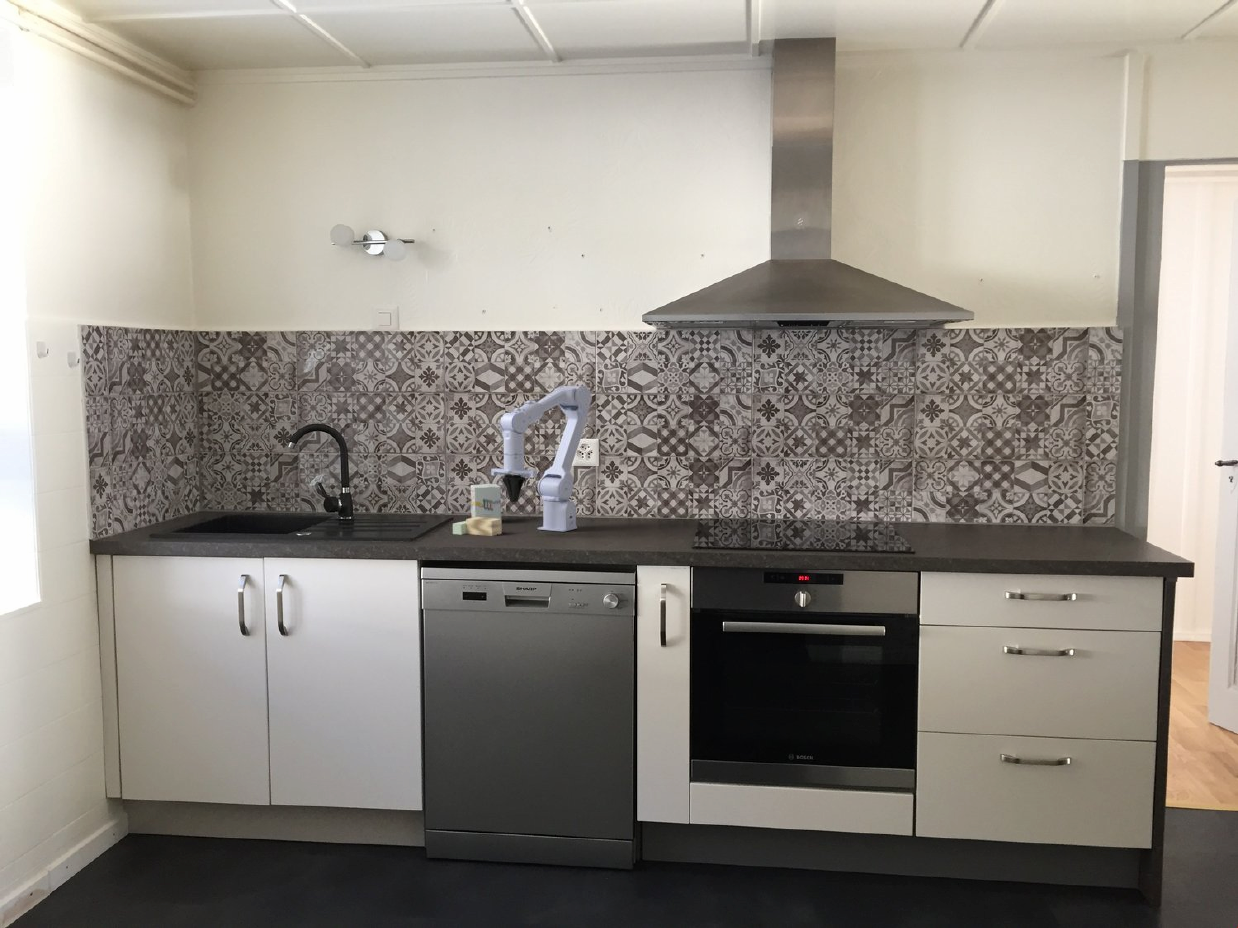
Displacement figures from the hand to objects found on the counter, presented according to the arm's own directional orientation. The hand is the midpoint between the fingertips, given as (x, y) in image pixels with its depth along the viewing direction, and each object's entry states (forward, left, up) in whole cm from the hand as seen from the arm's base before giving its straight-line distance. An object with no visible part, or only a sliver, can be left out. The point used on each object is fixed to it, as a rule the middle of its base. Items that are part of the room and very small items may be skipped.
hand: (514, 501), depth 283 cm
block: (+10, +1, -10) cm, 14 cm away
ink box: (+23, -18, -10) cm, 31 cm away
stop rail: (+16, -1, -10) cm, 19 cm away
